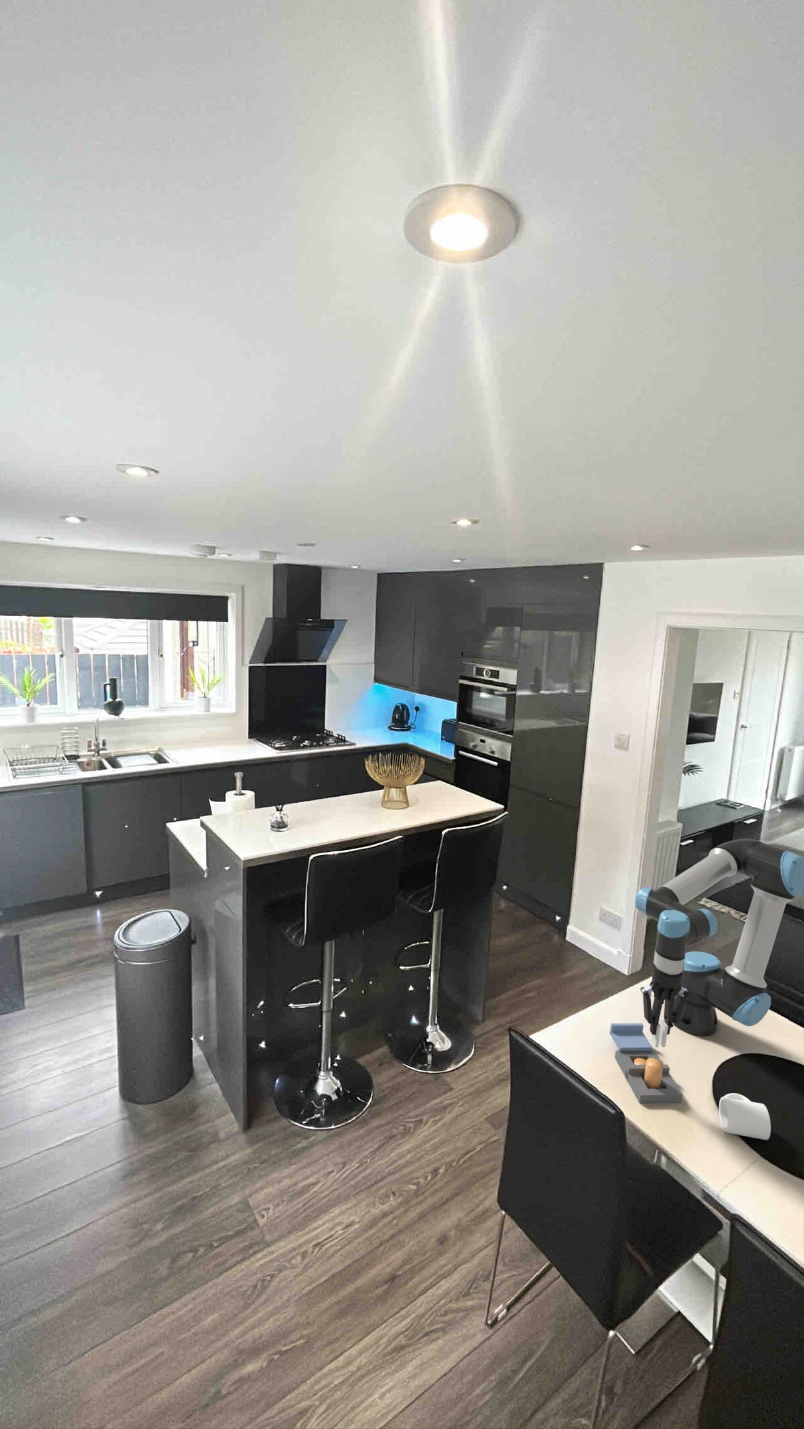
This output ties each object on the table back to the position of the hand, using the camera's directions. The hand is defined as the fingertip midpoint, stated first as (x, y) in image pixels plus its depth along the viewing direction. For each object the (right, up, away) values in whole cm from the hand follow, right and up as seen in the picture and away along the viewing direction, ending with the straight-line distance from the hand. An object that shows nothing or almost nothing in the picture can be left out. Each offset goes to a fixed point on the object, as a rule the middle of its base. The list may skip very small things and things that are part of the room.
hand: (658, 1043), depth 173 cm
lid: (-1, -9, +17) cm, 19 cm away
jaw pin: (-1, -14, +3) cm, 14 cm away
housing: (-1, -14, +6) cm, 15 cm away
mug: (+18, -17, -8) cm, 26 cm away
